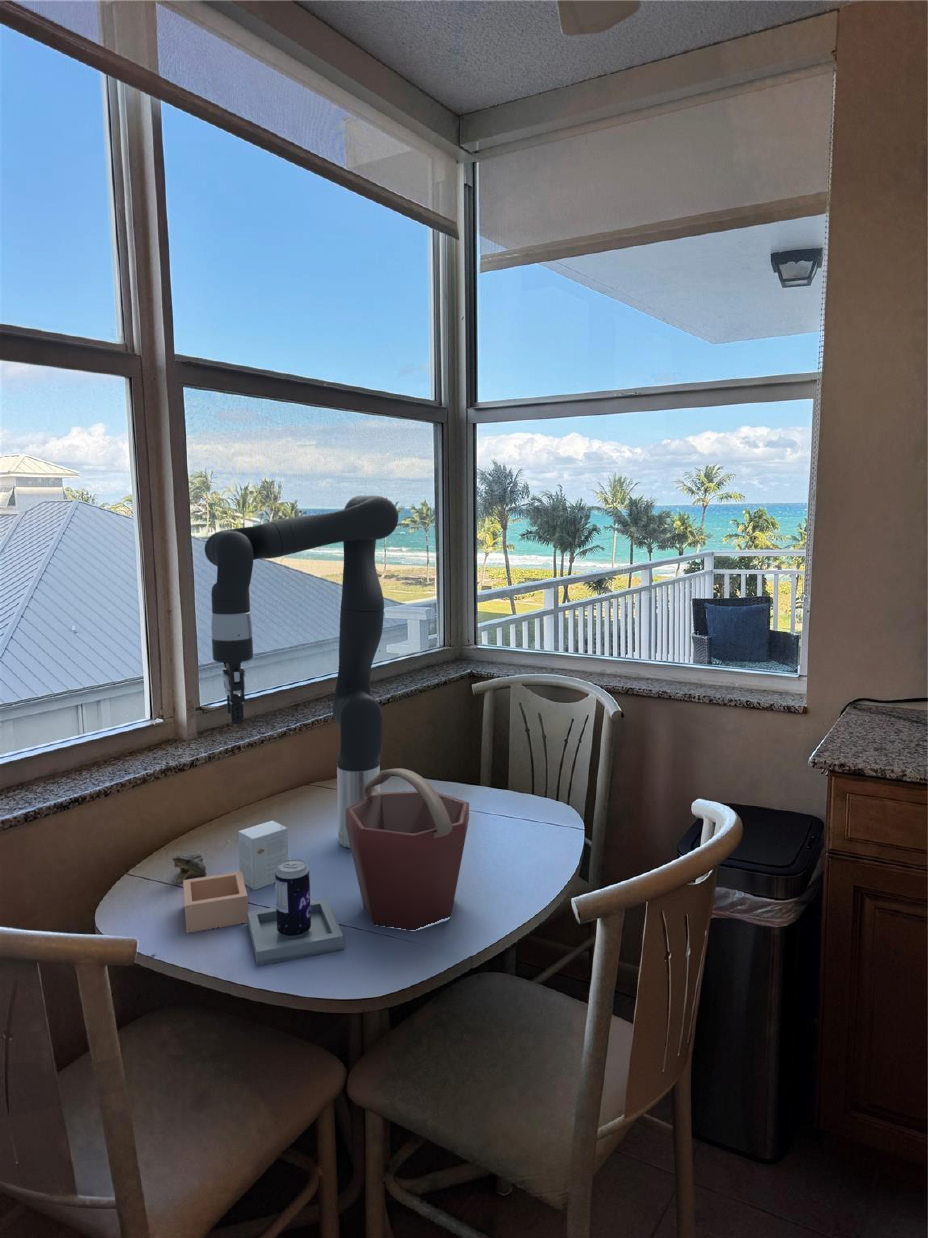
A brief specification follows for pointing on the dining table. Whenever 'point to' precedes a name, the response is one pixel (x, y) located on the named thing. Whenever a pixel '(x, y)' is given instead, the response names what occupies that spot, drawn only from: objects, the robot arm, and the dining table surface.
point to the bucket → (407, 851)
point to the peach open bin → (215, 901)
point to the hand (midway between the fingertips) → (235, 718)
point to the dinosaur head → (189, 866)
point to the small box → (262, 853)
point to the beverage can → (293, 898)
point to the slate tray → (280, 948)
